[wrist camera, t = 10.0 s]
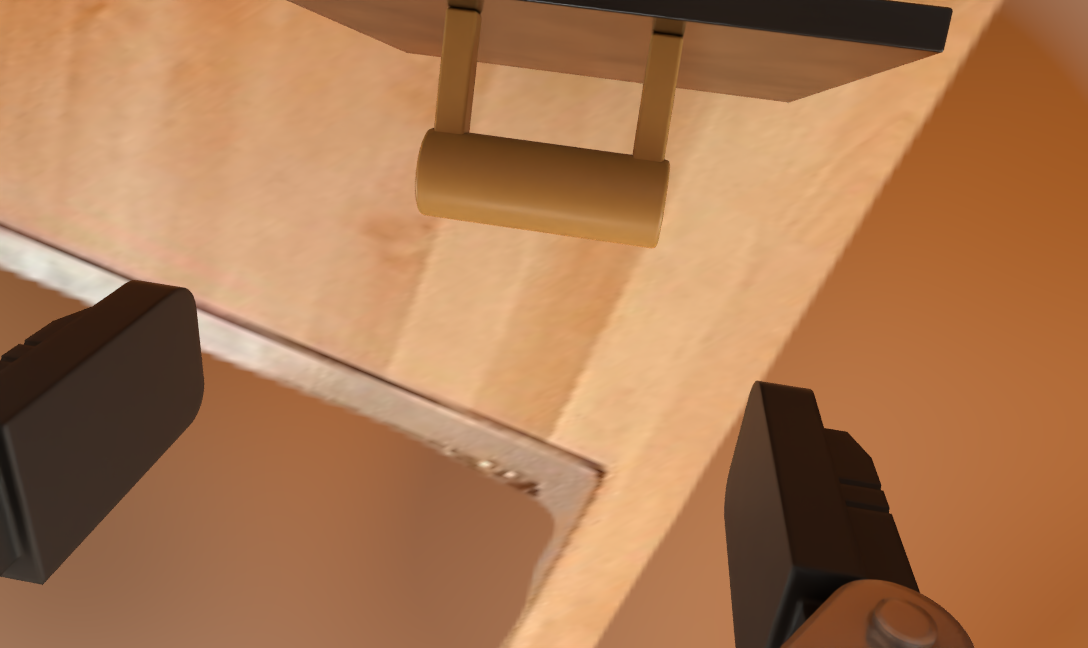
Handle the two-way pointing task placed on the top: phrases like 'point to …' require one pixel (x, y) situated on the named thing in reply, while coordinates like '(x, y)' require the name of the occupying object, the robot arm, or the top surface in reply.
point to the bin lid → (627, 55)
